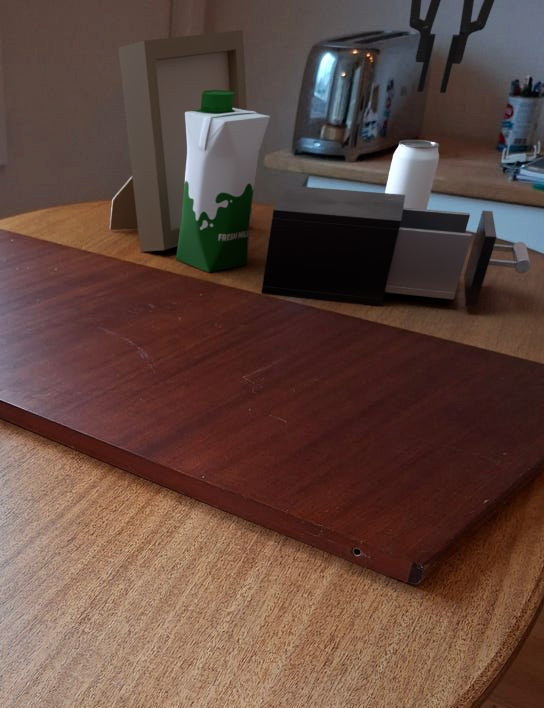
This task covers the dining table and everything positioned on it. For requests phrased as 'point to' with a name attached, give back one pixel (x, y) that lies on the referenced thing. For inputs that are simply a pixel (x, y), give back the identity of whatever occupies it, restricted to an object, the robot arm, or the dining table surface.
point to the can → (413, 172)
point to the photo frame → (168, 124)
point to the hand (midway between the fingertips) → (431, 90)
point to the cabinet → (332, 244)
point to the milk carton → (219, 182)
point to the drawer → (446, 254)
